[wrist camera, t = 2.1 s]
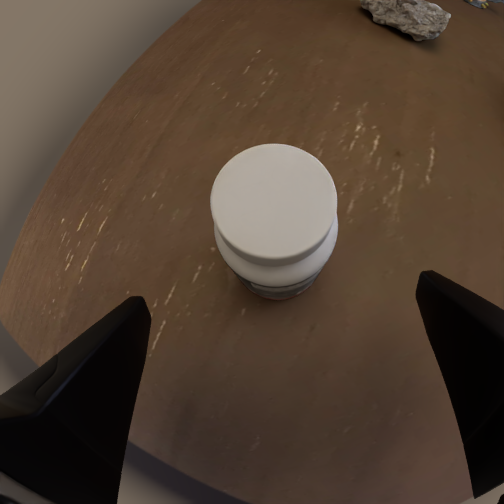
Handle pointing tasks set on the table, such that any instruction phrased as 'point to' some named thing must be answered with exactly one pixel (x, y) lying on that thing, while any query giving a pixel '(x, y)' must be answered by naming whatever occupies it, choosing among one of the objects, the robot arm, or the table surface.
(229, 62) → the table surface
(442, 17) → the mineral specimen
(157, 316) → the table surface
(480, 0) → the mug
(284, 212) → the pill bottle
